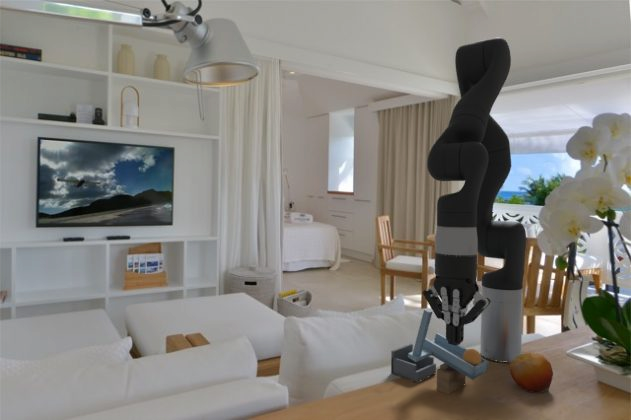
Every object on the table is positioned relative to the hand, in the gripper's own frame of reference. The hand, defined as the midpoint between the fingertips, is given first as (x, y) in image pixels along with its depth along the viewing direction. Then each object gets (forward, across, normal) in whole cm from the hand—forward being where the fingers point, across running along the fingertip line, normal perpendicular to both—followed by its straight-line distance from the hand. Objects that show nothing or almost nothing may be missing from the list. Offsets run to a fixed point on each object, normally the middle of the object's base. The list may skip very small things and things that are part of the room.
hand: (454, 343), depth 81 cm
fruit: (+12, -7, -19) cm, 23 cm away
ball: (+4, 0, -7) cm, 8 cm away
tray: (+12, +14, -7) cm, 19 cm away
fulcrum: (+12, +4, -7) cm, 14 cm away
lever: (+6, +4, -4) cm, 8 cm away
